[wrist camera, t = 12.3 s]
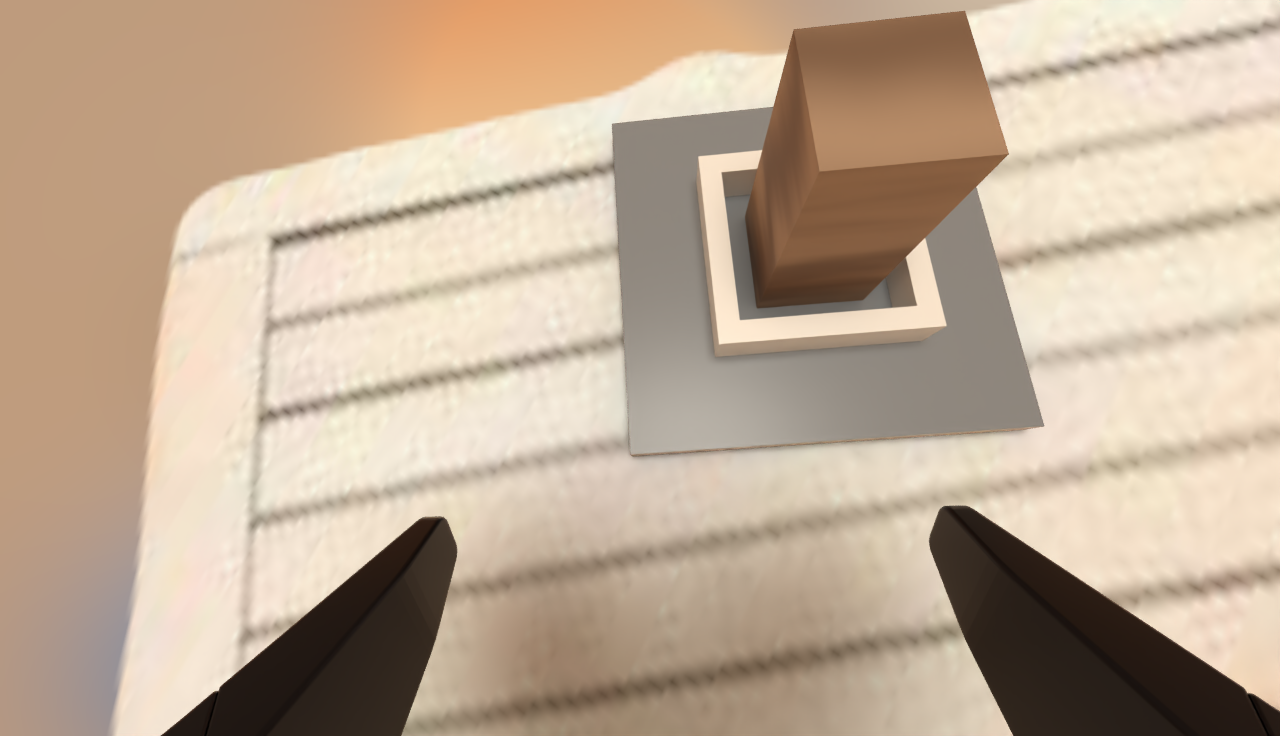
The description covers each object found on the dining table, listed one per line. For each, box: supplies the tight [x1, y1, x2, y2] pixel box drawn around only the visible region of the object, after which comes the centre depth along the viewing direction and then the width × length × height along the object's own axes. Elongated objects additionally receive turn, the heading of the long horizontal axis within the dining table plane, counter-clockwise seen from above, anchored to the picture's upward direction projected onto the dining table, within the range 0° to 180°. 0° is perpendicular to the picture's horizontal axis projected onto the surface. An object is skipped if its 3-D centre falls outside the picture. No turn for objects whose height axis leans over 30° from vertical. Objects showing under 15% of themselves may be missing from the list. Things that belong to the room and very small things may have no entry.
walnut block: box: [745, 11, 1009, 309], centre depth 18 cm, size 5×5×10 cm
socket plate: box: [612, 107, 1044, 456], centre depth 23 cm, size 18×18×3 cm
